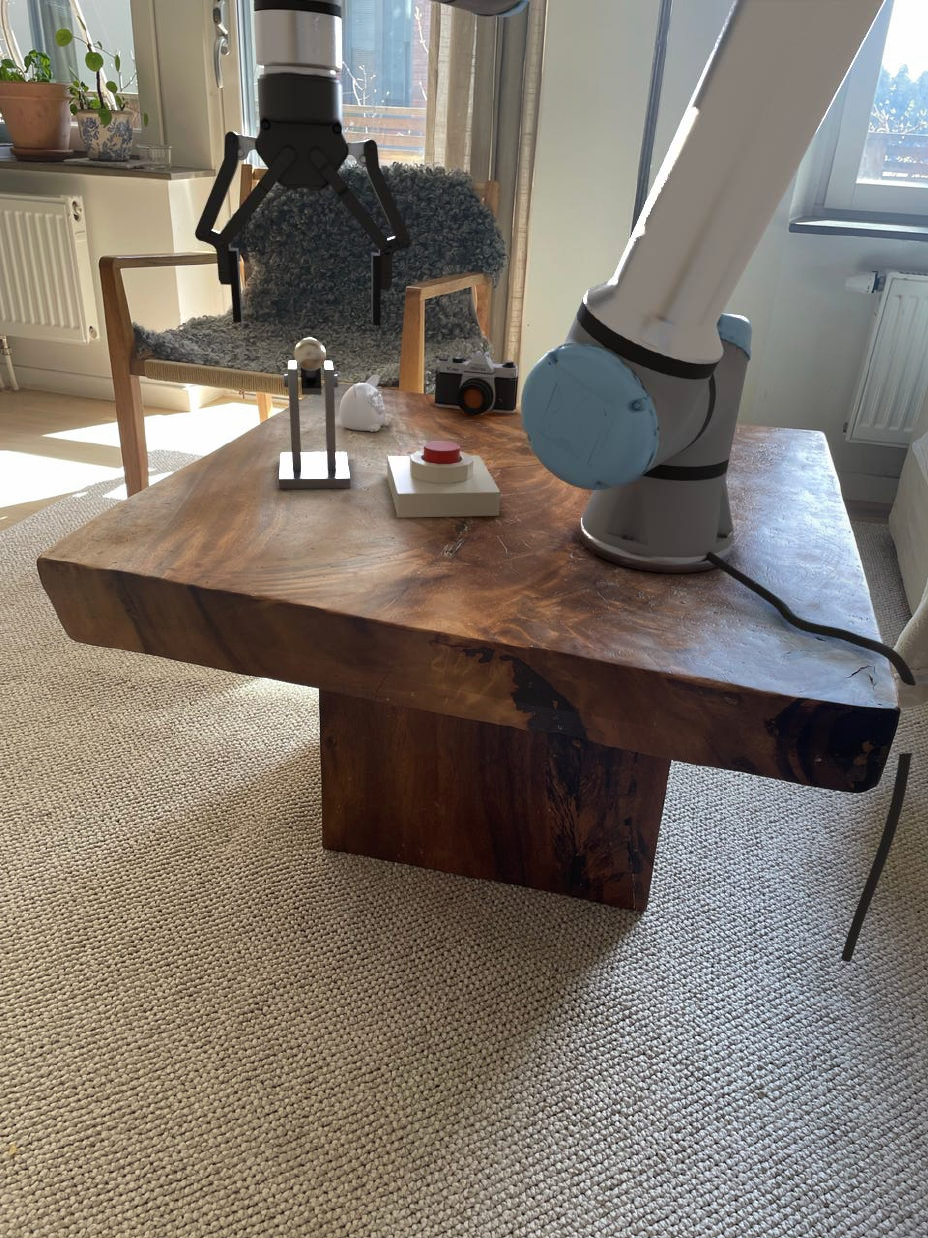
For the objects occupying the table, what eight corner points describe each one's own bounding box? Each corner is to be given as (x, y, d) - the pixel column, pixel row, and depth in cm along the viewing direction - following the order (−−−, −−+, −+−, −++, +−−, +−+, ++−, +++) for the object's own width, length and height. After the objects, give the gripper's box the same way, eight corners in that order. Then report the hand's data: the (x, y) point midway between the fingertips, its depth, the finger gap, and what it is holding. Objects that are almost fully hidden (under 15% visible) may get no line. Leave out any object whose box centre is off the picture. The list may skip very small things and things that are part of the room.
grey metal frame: (350, 488, 102) (348, 375, 96) (279, 489, 100) (272, 374, 94) (346, 461, 110) (344, 355, 104) (281, 461, 109) (275, 355, 103)
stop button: (462, 466, 97) (462, 450, 96) (425, 466, 97) (426, 451, 96) (456, 455, 101) (457, 440, 100) (421, 455, 100) (422, 440, 99)
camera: (424, 414, 132) (430, 352, 128) (434, 400, 139) (440, 342, 134) (510, 428, 131) (519, 366, 126) (516, 414, 138) (524, 355, 133)
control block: (499, 515, 96) (501, 475, 94) (397, 517, 94) (397, 476, 92) (478, 476, 107) (480, 440, 105) (387, 477, 105) (387, 440, 103)
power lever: (326, 365, 89) (325, 333, 89) (294, 365, 88) (293, 333, 88) (325, 398, 102) (324, 370, 102) (297, 398, 101) (296, 370, 101)
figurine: (372, 436, 120) (372, 387, 117) (329, 429, 122) (328, 381, 119) (395, 421, 127) (395, 375, 124) (354, 416, 129) (354, 370, 126)
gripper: (433, 85, 84) (426, 317, 94) (160, 67, 80) (183, 312, 90) (444, 80, 78) (436, 331, 88) (147, 60, 74) (173, 325, 84)
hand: (307, 321), depth 89 cm, fingers open, 13 cm apart
